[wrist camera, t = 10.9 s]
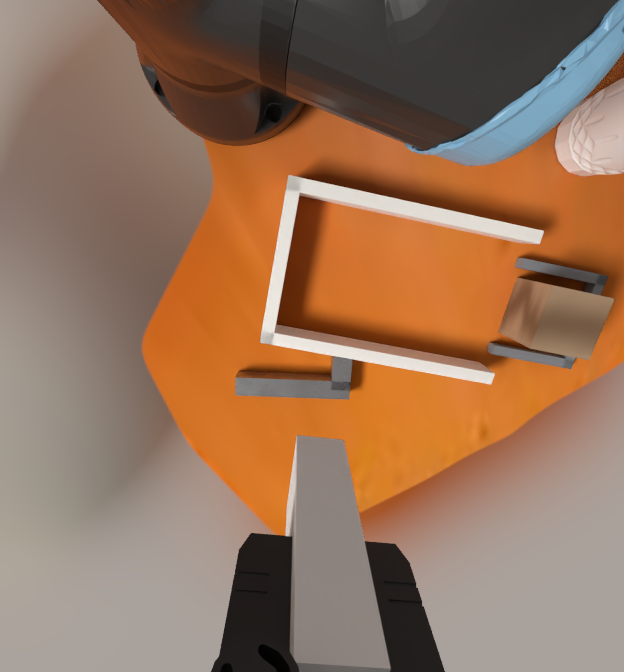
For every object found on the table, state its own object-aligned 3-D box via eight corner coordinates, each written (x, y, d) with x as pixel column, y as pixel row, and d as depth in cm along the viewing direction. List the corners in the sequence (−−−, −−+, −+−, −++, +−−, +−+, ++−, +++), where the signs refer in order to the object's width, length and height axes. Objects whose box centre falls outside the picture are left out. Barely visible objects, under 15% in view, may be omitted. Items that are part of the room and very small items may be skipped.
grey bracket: (517, 257, 39) (524, 258, 38) (599, 274, 40) (608, 276, 39) (486, 350, 42) (491, 354, 41) (563, 365, 43) (571, 369, 42)
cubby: (289, 179, 37) (288, 174, 33) (522, 230, 39) (544, 230, 35) (263, 333, 41) (259, 342, 37) (475, 372, 43) (491, 384, 39)
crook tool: (238, 344, 41) (235, 349, 39) (350, 348, 41) (352, 354, 40) (238, 387, 42) (235, 395, 40) (346, 391, 43) (349, 399, 41)
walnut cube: (516, 277, 40) (553, 285, 34) (569, 288, 40) (614, 298, 35) (497, 331, 42) (529, 348, 36) (549, 342, 42) (589, 360, 36)
